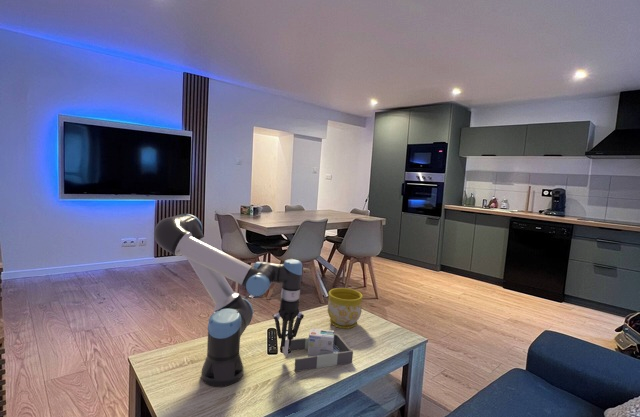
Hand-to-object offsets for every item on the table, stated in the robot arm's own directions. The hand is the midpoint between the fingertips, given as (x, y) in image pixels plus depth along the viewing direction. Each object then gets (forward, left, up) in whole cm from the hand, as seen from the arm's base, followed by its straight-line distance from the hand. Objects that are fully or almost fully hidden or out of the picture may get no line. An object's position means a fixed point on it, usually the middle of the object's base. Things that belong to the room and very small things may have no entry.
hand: (284, 353), depth 137 cm
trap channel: (+15, 0, -3) cm, 15 cm away
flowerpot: (+39, +26, -4) cm, 47 cm away
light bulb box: (+16, 0, -4) cm, 16 cm away
